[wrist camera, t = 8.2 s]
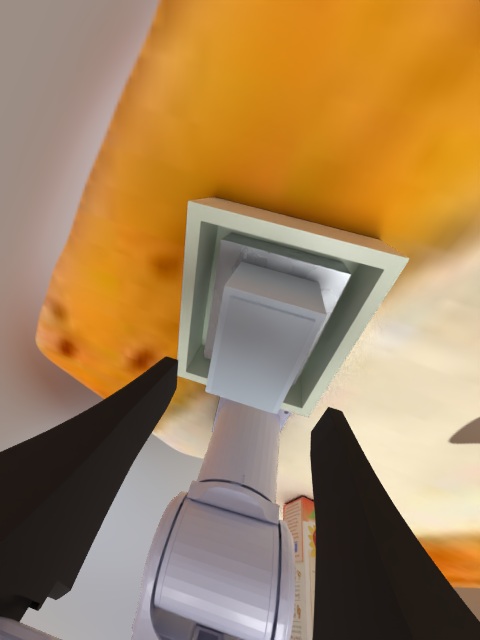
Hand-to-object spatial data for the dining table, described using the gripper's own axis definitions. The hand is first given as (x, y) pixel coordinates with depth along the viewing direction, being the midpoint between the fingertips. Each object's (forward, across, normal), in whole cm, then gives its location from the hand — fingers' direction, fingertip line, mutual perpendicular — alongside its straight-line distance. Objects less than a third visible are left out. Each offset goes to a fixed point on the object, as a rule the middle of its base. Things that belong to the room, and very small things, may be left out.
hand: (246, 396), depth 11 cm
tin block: (+9, 0, 0) cm, 9 cm away
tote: (+10, 0, 0) cm, 10 cm away
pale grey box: (+7, 0, 0) cm, 7 cm away
